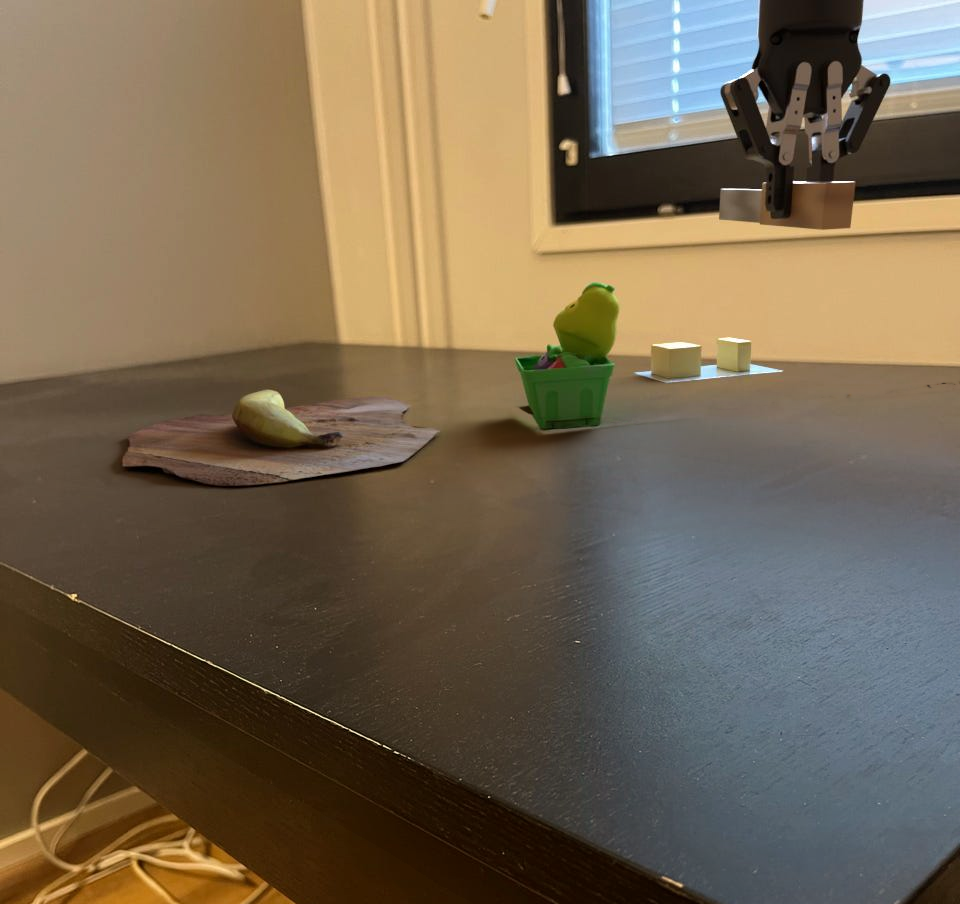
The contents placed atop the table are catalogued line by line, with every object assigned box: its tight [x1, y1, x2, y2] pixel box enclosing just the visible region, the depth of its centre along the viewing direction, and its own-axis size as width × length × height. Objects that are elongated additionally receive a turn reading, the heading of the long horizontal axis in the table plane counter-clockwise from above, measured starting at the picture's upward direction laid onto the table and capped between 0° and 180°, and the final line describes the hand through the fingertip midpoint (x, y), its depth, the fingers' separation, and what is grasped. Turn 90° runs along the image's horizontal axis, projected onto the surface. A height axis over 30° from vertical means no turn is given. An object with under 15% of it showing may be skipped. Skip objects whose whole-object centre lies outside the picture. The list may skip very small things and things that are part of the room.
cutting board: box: [122, 389, 442, 487], centre depth 86 cm, size 35×27×4 cm
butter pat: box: [716, 337, 752, 372], centre depth 104 cm, size 2×5×3 cm, turn 13°
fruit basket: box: [514, 281, 621, 430], centre depth 85 cm, size 11×9×11 cm
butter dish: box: [633, 363, 783, 384], centre depth 104 cm, size 13×9×1 cm
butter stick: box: [650, 341, 702, 379], centre depth 103 cm, size 4×5×3 cm
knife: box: [718, 180, 856, 231], centre depth 82 cm, size 20×2×3 cm, turn 13°
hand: (797, 216), depth 79 cm, fingers closed on knife, 2 cm apart
